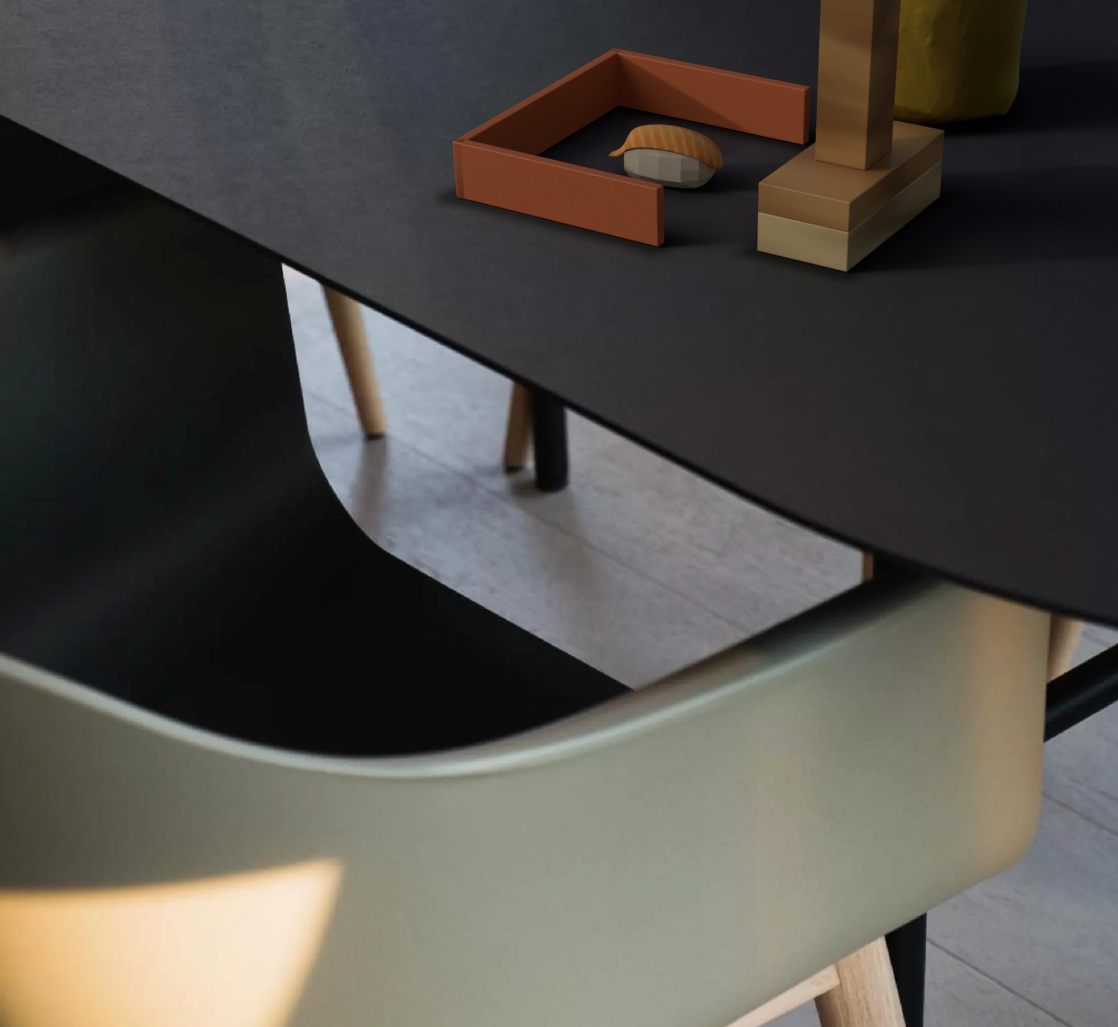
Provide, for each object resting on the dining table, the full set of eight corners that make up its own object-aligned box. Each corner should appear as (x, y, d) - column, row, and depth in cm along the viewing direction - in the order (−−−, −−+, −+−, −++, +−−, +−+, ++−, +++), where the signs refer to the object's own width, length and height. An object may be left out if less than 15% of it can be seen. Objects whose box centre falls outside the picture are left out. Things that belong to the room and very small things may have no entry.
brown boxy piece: (853, 178, 107) (868, -138, 97) (940, 197, 105) (965, -125, 95) (757, 251, 101) (762, -79, 91) (846, 272, 99) (863, -64, 89)
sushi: (713, 198, 106) (713, 142, 104) (600, 182, 108) (598, 126, 106) (731, 179, 108) (732, 123, 106) (620, 163, 110) (619, 108, 108)
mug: (1032, 119, 107) (998, -83, 104) (847, 160, 112) (808, -31, 108) (1080, 82, 117) (1050, -103, 113) (908, 122, 122) (874, -55, 118)
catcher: (809, 141, 111) (811, 86, 109) (658, 247, 102) (657, 189, 100) (615, 100, 117) (614, 47, 115) (456, 197, 108) (451, 141, 106)
